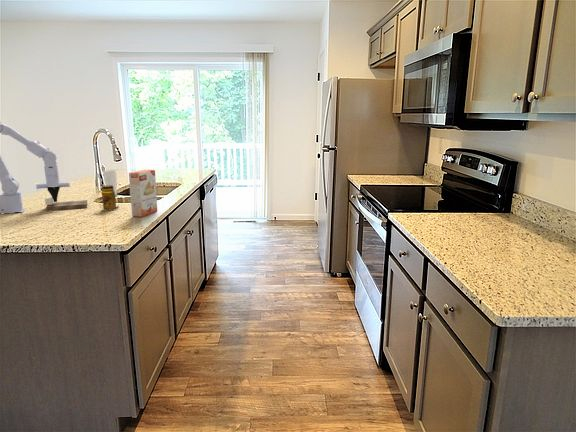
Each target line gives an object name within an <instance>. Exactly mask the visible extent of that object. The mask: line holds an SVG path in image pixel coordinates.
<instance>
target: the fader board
mask: <svg viewBox="0 0 576 432" xmlns="http://www.w3.org/2000/svg"><path fill="white" fill-rule="evenodd" d="M87 208H88V200H87V199H85V200H84V199H83V200H71V201H61V202H60V201H57V202H54V203H53V205H46V208H45V209H46V212H50V211H49V210H53V211H63V210H66V211H67V210H74V209H76V210H77V209H87Z"/></svg>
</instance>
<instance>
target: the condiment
mask: <svg viewBox="0 0 576 432" xmlns="http://www.w3.org/2000/svg"><path fill="white" fill-rule="evenodd" d="M101 199H102V209H101V211H102V212H103V211H116V210H117V211H118V210H119V207H120V206H119V205H118V206H117V203H116V202H117V201H116V195H115V192H114V189H113V186H111V185H107V186H106V185H102V187H101ZM116 206H117V207H116Z"/></svg>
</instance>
